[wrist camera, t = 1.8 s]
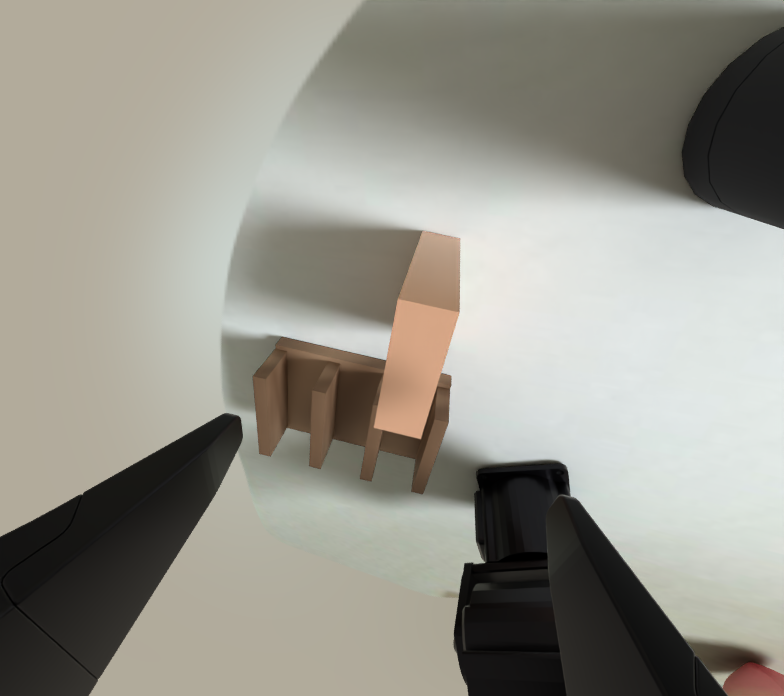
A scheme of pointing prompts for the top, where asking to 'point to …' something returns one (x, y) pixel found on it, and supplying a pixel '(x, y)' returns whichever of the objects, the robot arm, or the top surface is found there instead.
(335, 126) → the top surface
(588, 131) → the top surface
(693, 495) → the top surface
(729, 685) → the decorative fruit
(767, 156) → the wine bottle
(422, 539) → the top surface
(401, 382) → the block
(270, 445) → the rack
